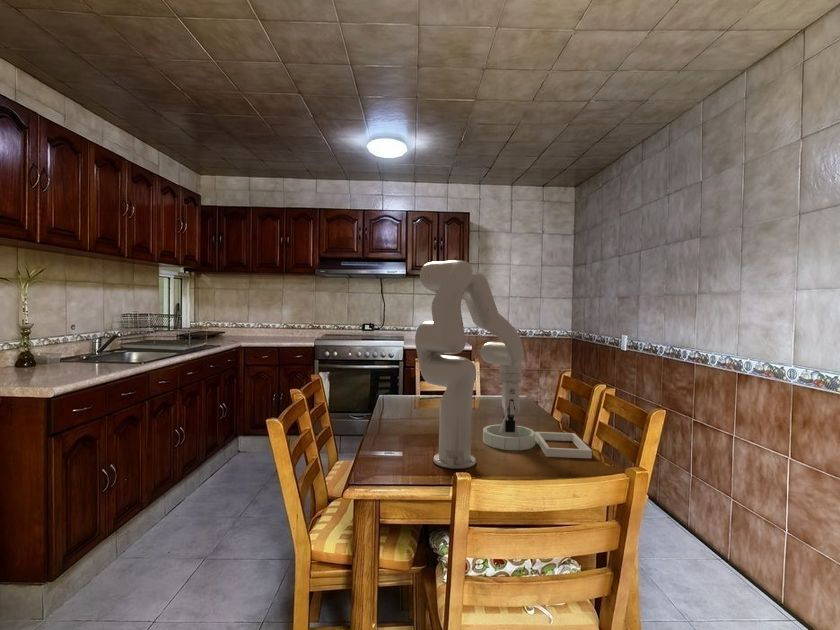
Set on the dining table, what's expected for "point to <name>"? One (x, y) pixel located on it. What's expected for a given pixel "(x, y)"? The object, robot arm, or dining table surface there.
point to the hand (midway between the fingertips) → (508, 429)
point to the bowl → (509, 438)
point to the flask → (508, 434)
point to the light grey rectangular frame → (563, 452)
